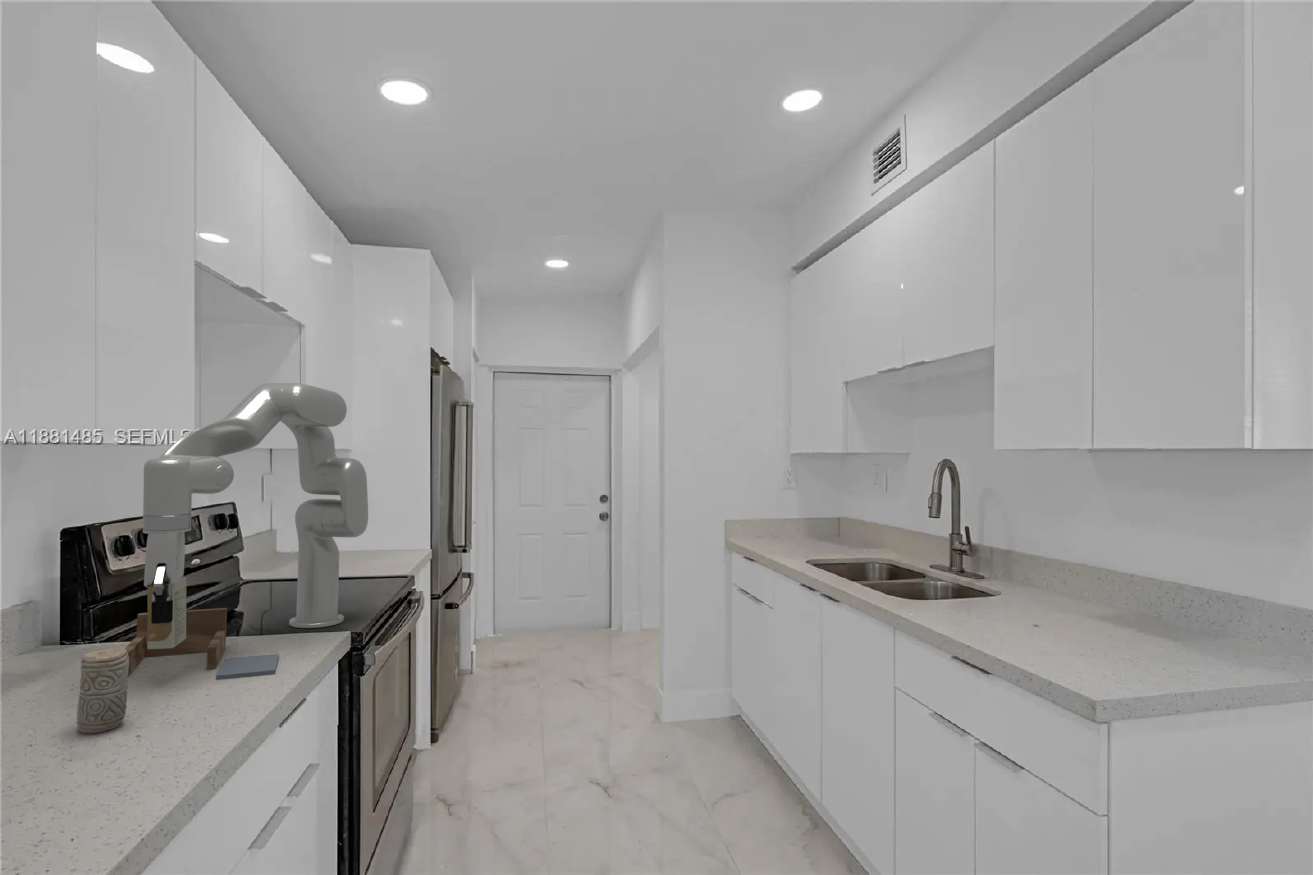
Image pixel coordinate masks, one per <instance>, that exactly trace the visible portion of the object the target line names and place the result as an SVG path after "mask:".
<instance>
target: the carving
mask: <svg viewBox="0 0 1313 875" xmlns="http://www.w3.org/2000/svg"><path fill="white" fill-rule="evenodd" d="M80 664H81V666H80V676H81V677H80V680H79V695H78V704H77V709H76V724H77V729H78V730H79V731H80V732H82V733H84V734H100V733H103V732H107V731H110V730H114V729H116V728H117V727H118V726H120V725H121V724H122V721H123V720H124V719H125V718H126V714H127V708H128V706H127V702H128V691H127V690H128V688H129V687H128V686H129V682H128V678H129V676H128V668H129V656H128V652H127V651H126V649H125V648H123V647H120V646H119V647H108V648H103V649H98V650H94V651H89V652H87V653H84V655H82V657H81V661H80Z"/></svg>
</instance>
